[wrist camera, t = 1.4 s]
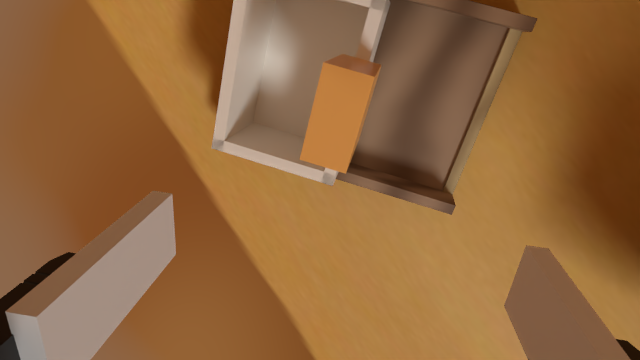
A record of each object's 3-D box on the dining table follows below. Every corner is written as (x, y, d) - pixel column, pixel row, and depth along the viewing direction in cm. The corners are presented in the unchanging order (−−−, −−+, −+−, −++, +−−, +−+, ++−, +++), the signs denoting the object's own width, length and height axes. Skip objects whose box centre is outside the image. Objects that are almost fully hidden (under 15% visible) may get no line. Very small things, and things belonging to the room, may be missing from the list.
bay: (523, 19, 35) (537, 18, 31) (447, 198, 42) (451, 214, 38) (265, -49, 37) (250, -57, 33) (234, 133, 44) (219, 142, 40)
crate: (401, 5, 35) (401, -11, 20) (354, 160, 41) (327, 234, 26) (273, -29, 36) (183, -69, 21) (245, 127, 42) (159, 180, 27)
